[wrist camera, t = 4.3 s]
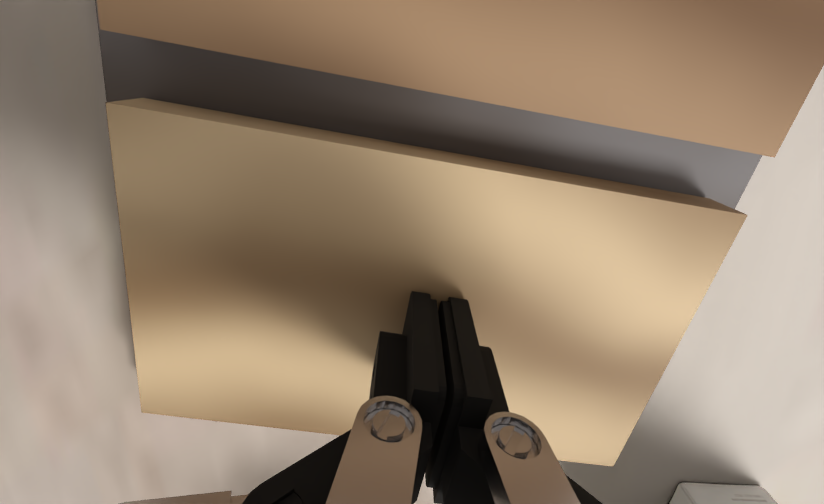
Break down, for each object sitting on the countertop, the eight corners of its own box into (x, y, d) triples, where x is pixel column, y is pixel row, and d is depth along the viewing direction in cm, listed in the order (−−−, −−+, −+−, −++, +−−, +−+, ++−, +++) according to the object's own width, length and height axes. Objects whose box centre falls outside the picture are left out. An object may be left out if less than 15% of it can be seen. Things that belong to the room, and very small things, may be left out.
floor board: (598, 431, 18) (627, 486, 15) (155, 377, 16) (114, 429, 14) (908, -204, 10) (1067, -288, 7) (79, -436, 8) (-52, -640, 6)
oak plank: (595, 432, 16) (613, 466, 15) (166, 380, 15) (141, 412, 13) (709, 198, 12) (747, 215, 11) (143, 97, 11) (105, 102, 9)
